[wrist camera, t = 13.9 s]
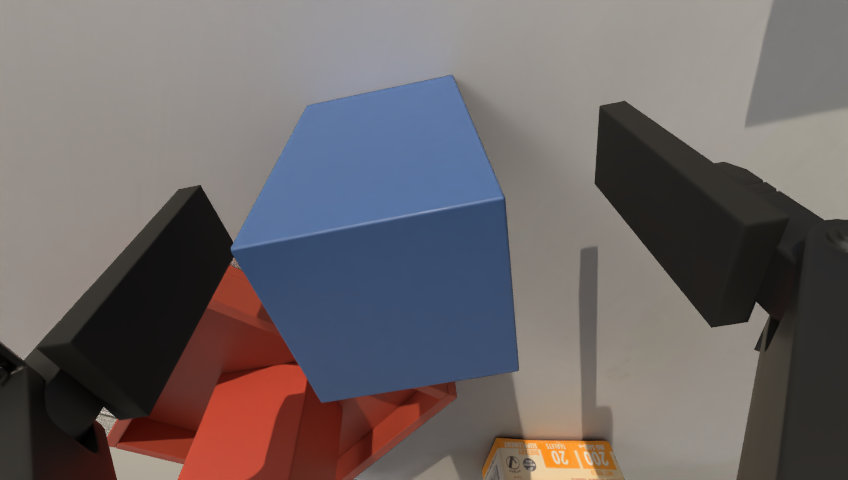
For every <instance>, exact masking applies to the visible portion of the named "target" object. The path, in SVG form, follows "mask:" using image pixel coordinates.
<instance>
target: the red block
mask: <svg viewBox="0 0 848 480" xmlns="http://www.w3.org/2000/svg"><path fill="white" fill-rule="evenodd" d="M342 414H343V412H342V410H341V408H340V406H339V405H338V403H337V401H331V402H325V403H322V402H321V401H320V400H319V398H318V396H317V395H316V393H315V391H314V390H313V388H312V386H311V385H310V383H309V381H308V380H307V378H306V376H305V375H304V373H303V371H302V370H301V368H300V366H299V365H298V363H297V362H293V363H287V364H281V365H275V366H269V367H263V368H257V369H251V370H246V371H240V372H234V373H228V374H222V375H220V376H219V379H218V381H217V383H216V386H215V388H214V391H213V393H212V396H211V398H210V401H209V403H208V406H207V408H206V411H205V413H204V416H203V418H202V421H201V423H200V426H199V428H198V431H197V433H196V435H195V438H194V440H193V443H192V445H191V448H190V450H189V453H188V455H187V458H186V460H185V463H184V465H183V468H182V470H181V473H180V475H179V478H178V480H335V477H336V468H337V459H338V450H339V441H340V432H341V423H342Z"/></svg>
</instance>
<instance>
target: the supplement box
mask: <svg viewBox="0 0 848 480" xmlns="http://www.w3.org/2000/svg"><path fill="white" fill-rule="evenodd" d="M482 475H483V480H625V479H624V477H623V474H622V472H621V470H620V467H619V465H618V462H617V460H616V457H615V455H614V453H613V450H612V448H611V446H610V443H609V442H608V441H601V440H599V441H596V440H595V441H576V440H523V439H509V438H496V439H495V442H494V444H493V446H492V448H491V451H490V453H489V456H488V457H487V460H486V462H485V464H484V466H483V468H482Z"/></svg>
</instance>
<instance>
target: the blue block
mask: <svg viewBox="0 0 848 480" xmlns="http://www.w3.org/2000/svg"><path fill="white" fill-rule="evenodd" d="M231 252H232V254H233V256H234V257H235V259H236V261H237V262H238V264H239V266H240V267H241V269H242V271H243V272H244V274H245V276H246V277H247V279H248V281H249V282H250V284H251V286H252V287H253V289H254V291H255V293H256V294H257V296H258V298H259V299H260V301H261V303H262V304H263V306H264V308H265V309H266V311H267V313H268V314H269V316H270V318H271V319H272V321H273V323H274V324H275V326H276V328H277V329H278V331H279V333H280V334H281V336H282V338H283V339H284V341H285V343H286V344H287V346H288V348H289V349H290V351H291V353H292V354H293V356H294V358H295V359H296V361H297V363H298V365H299V366H300V368H301V370H302V371H303V373H304V375H305V376H306V378H307V380H308V381H309V383H310V385H311V386H312V388H313V390H314V391H315V393H316V395H317V396H318V398H319V400H320V401H321V402H322V403H325V402H331V401H337V400H343V399H349V398H355V397H362V396H368V395H374V394H380V393H386V392H392V391H398V390H405V389H411V388H417V387H423V386H429V385H435V384H442V383H448V382H454V381H460V380H466V379H472V378H479V377H485V376H491V375H497V374H503V373H509V372H515V371H518V370H519V362H518V350H517V338H516V325H515V313H514V301H513V289H512V276H511V264H510V252H509V239H508V227H507V215H506V203H505V197H504V194H503V192H502V190H501V187H500V185H499V183H498V180H497V178H496V176H495V173H494V171H493V168H492V166H491V164H490V161H489V159H488V157H487V154H486V152H485V150H484V147H483V145H482V143H481V140H480V138H479V136H478V133H477V131H476V129H475V126H474V124H473V122H472V119H471V117H470V115H469V112H468V110H467V108H466V105H465V103H464V100H463V98H462V96H461V93H460V91H459V89H458V86H457V84H456V82H455V79H454V77H453V75H450V76H445V77H440V78H435V79H431V80H426V81H421V82H416V83H412V84H407V85H402V86H398V87H393V88H388V89H383V90H379V91H374V92H369V93H364V94H360V95H355V96H350V97H345V98H341V99H336V100H331V101H327V102H322V103H317V104H312V105H308V106H307V107H306V109H305V110H304V112H303V114H302V116H301V118H300V120H299V122H298V123H297V125H296V127H295V129H294V131H293V133H292V135H291V137H290V138H289V140H288V142H287V144H286V146H285V148H284V150H283V151H282V153H281V155H280V157H279V159H278V161H277V163H276V165H275V166H274V168H273V170H272V172H271V174H270V176H269V178H268V179H267V181H266V183H265V185H264V187H263V189H262V191H261V193H260V194H259V196H258V198H257V200H256V202H255V204H254V206H253V207H252V209H251V211H250V213H249V215H248V217H247V219H246V221H245V222H244V224H243V226H242V228H241V230H240V232H239V234H238V235H237V237H236V239H235V241H234V243H233V245H232V247H231Z"/></svg>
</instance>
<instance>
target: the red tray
mask: <svg viewBox="0 0 848 480" xmlns="http://www.w3.org/2000/svg"><path fill="white" fill-rule="evenodd" d="M293 362H297V361H296V359H295V358H294V356H293V354H292V353H291V351H290V349H289V348H288V346H287V344H286V343H285V341H284V339H283V338H282V336H281V334H280V333H279V331H278V329H277V328H276V326H275V324H274V323H273V321H272V319H271V318H270V316H269V314H268V313H267V311H266V309H265V308H264V306H263V304H262V303H261V301H260V299H259V298H258V296H257V294H256V293H255V291H254V289H253V287H252V286H251V284H250V282H249V281H248V279H247V277H246V276H245V274H244V272H243V271H242V270H240V269H237V268H235V267H233V266H231V265H229V267H228V269H227V271H226V272H225V274H224V276H223V278H222V280H221V282H220V284H219V286H218V287H217V289H216V291H215V293H214V295H213V297H212V299H211V301H210V302H209V304H208V306H207V308H206V310H205V312H204V314H203V316H202V318H201V319H200V321H199V323H198V325H197V327H196V329H195V331H194V333H193V334H192V336H191V338H190V340H189V342H188V344H187V346H186V348H185V349H184V351H183V353H182V355H181V357H180V359H179V361H178V363H177V365H176V366H175V368H174V370H173V372H172V374H171V376H170V378H169V380H168V381H167V383H166V385H165V387H164V389H163V391H162V393H161V395H160V396H159V398H158V400H157V402H156V404H155V406H154V408H153V410H152V412H151V413H150V415H149V416H146V417H139V418H133V419H127V420H118V419H117V420H116V422H115V424H114V426H113V427H112V429H111V431H110V433H109V434H108V436H107V441H108V445H109V446H110V447H116V448H118V449H122V450H126V451H131V452H135V453H139V454H143V455H148V456H152V457H156V458H160V459H164V460H168V461H172V462H176V463H181V464H184V463H185V460H186V458H187V455H188V453H189V450H190V448H191V445H192V443H193V440H194V438H195V435H196V433H197V431H198V428H199V426H200V423H201V421H202V418H203V416H204V413H205V411H206V408H207V406H208V403H209V401H210V398H211V396H212V393H213V391H214V388H215V386H216V383H217V381H218V379H219V376H220V375H222V374H228V373H234V372H240V371H246V370H251V369H257V368H263V367H269V366H275V365H281V364H287V363H293ZM456 398H457V393H456V386H455V381H454V382H448V383H442V384H435V385H429V386H423V387H417V388H411V389H405V390H398V391H392V392H386V393H380V394H374V395H368V396H362V397H355V398H349V399H343V400H337V403H338V405H339V406H340V408H341V410H342V412H343V414H342V423H341V432H340V441H339V450H338V459H337V468H336V477H335V480H352V479H354V478H355V477H356V476H357V475H359V474H360V473H361V472H363V471H364V470H365V469H366V468H368V467H369V466H370V465H371V464H373V463H374V462H375V461H377V460H378V459H379V458H380V457H382V456H383V455H384V454H386V453H387V452H388V451H389V450H391V449H392V448H393V447H394V446H396V445H397V444H398V443H400V442H401V441H402V440H403V439H405V438H406V437H407V436H408V435H410V434H411V433H412V432H414V431H415V430H416V429H417V428H419V427H420V426H421V425H423V424H424V423H425V422H426V421H428V420H429V419H430V418H431V417H433V416H434V415H435V414H437V413H438V412H439V411H440V410H442V409H443V408H444V407H446V406H447V405H448V404H449V403H451V402H452V401H453V400H454V399H456Z"/></svg>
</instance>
